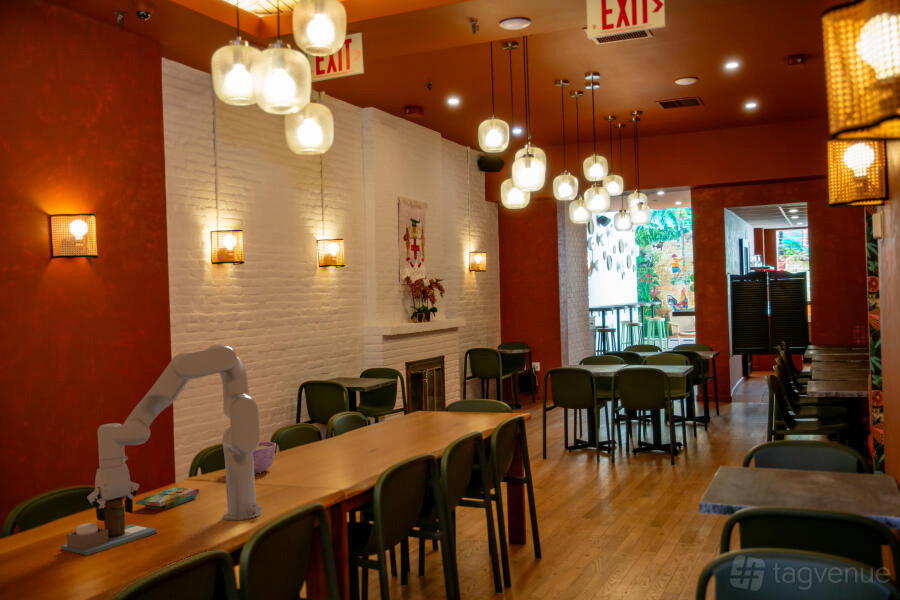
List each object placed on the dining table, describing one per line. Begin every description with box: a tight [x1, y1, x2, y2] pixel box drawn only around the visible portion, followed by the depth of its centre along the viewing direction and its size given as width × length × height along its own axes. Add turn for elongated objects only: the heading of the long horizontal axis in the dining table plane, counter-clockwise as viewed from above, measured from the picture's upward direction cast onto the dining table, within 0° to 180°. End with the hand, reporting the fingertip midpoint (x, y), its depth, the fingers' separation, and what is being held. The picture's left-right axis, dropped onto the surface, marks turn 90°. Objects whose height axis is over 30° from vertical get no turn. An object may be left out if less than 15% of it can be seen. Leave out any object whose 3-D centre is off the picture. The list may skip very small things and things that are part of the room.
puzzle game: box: [135, 487, 200, 510], centre depth 286 cm, size 12×5×20 cm
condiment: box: [103, 497, 132, 539], centre depth 244 cm, size 7×8×12 cm
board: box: [60, 524, 158, 556], centre depth 242 cm, size 14×24×5 cm, turn 147°
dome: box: [75, 522, 99, 537], centre depth 236 cm, size 6×6×3 cm
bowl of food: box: [253, 441, 277, 475], centre depth 334 cm, size 20×20×12 cm
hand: (115, 516), depth 244 cm, fingers open, 9 cm apart
